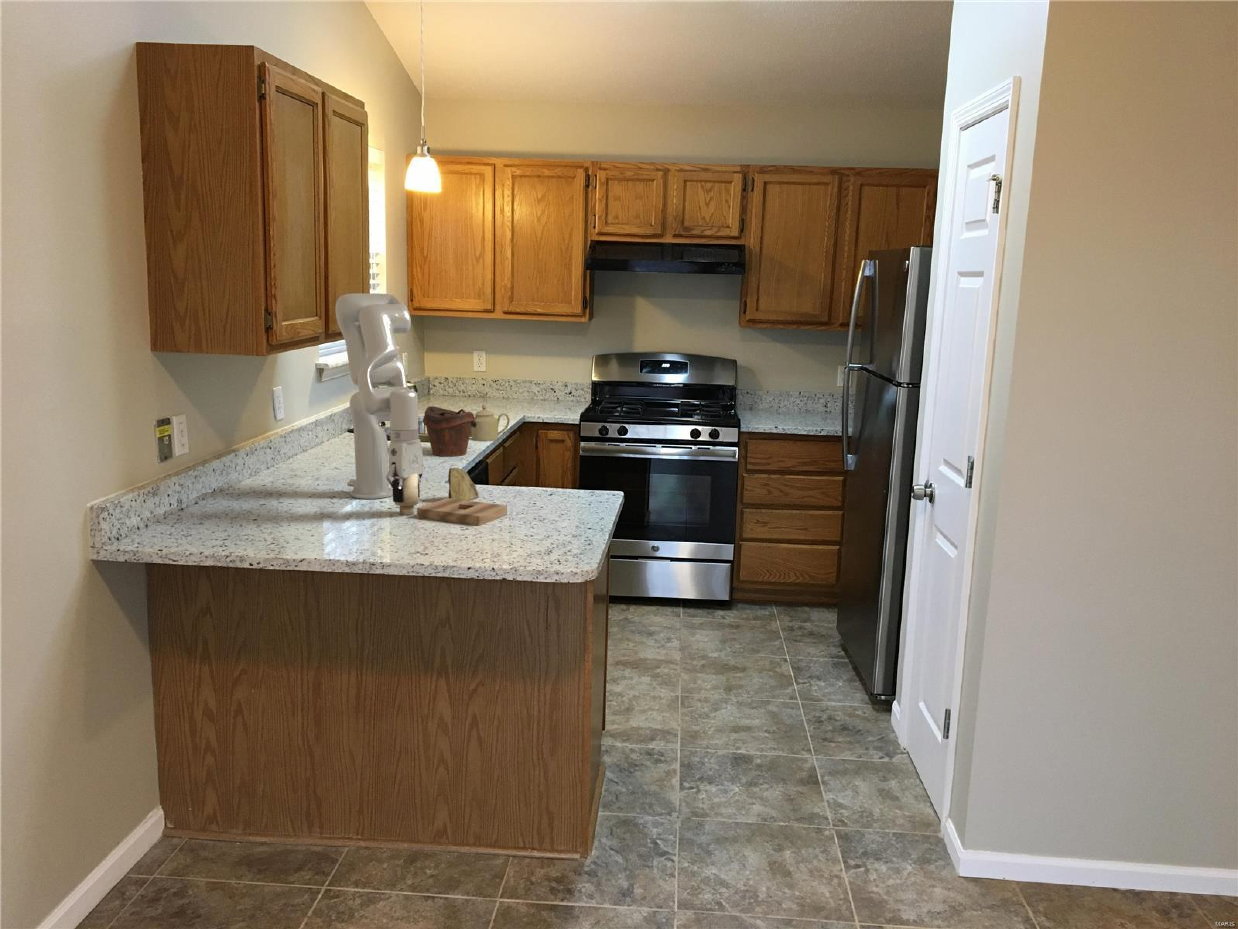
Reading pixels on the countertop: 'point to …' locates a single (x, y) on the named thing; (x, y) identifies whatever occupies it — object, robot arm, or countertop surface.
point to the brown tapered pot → (448, 430)
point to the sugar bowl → (487, 425)
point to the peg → (409, 495)
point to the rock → (461, 485)
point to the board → (462, 511)
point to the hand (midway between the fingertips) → (406, 499)
